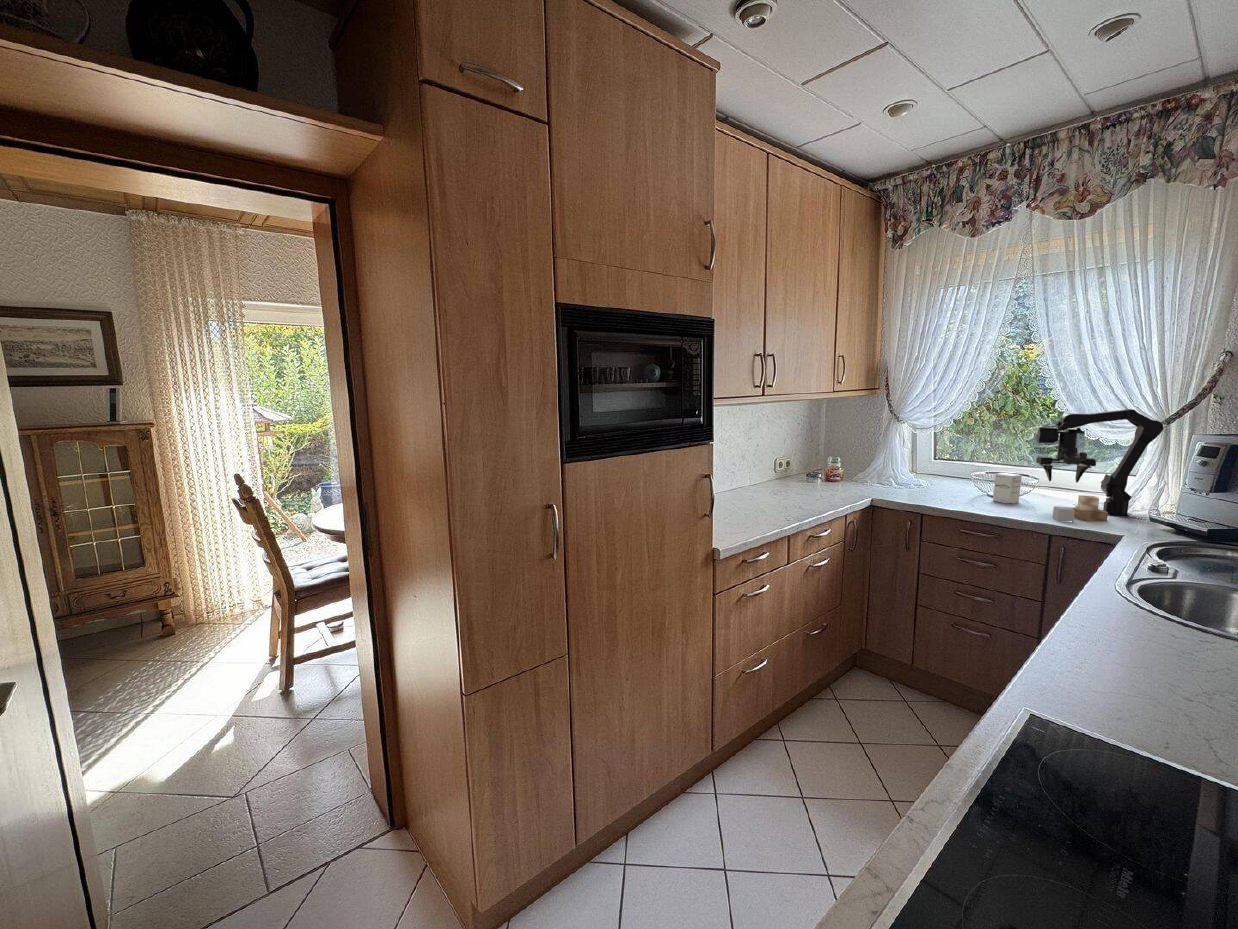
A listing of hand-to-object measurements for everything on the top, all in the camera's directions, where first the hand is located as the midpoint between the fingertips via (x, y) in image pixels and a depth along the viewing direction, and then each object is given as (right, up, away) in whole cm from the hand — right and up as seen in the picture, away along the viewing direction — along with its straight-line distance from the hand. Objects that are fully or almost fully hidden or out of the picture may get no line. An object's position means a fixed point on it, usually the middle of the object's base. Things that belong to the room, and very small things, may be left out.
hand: (1063, 481), depth 231 cm
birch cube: (-1, -10, -13) cm, 16 cm away
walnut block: (0, -14, -13) cm, 19 cm away
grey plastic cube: (-12, -15, -15) cm, 24 cm away
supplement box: (-11, -10, +18) cm, 23 cm away
